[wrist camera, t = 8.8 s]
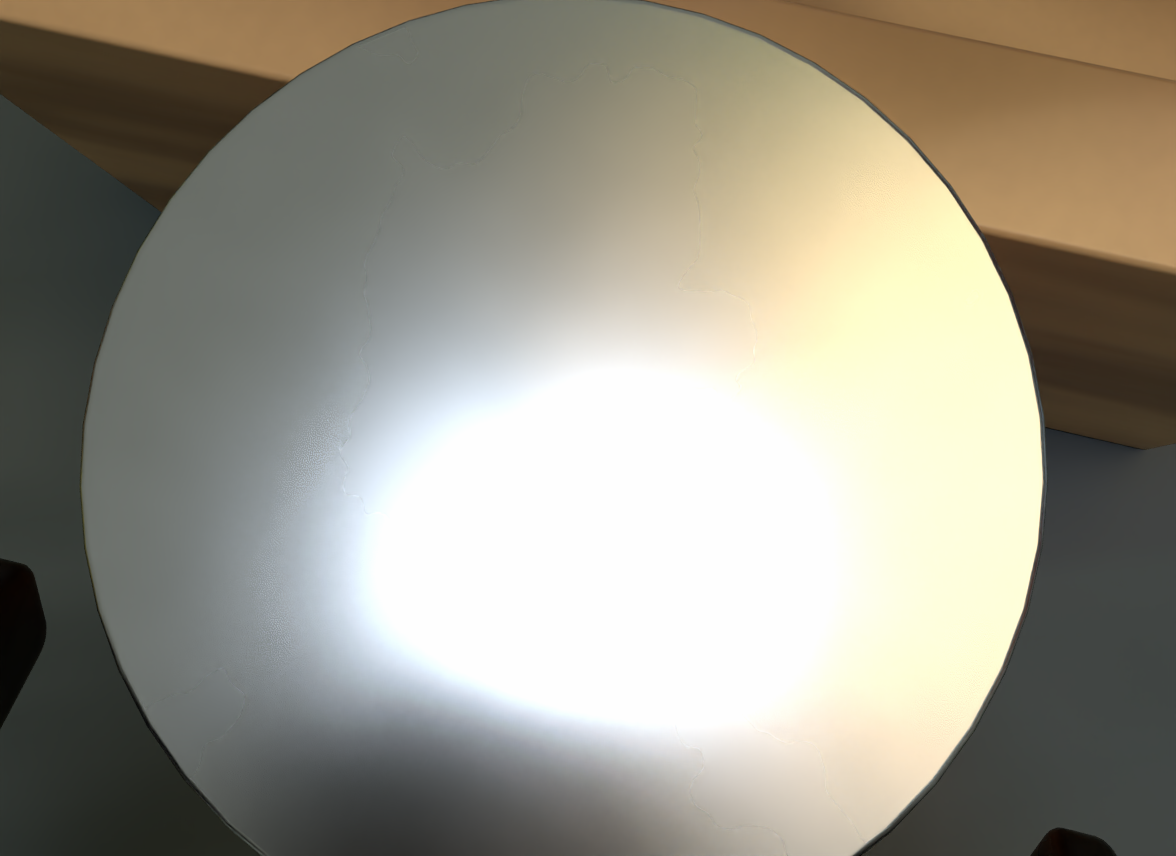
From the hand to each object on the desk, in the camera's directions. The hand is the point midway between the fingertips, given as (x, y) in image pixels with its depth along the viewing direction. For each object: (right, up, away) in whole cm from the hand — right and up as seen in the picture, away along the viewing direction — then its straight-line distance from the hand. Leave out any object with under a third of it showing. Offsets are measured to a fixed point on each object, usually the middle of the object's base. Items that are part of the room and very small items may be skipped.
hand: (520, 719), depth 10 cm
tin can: (+1, +1, +10) cm, 10 cm away
